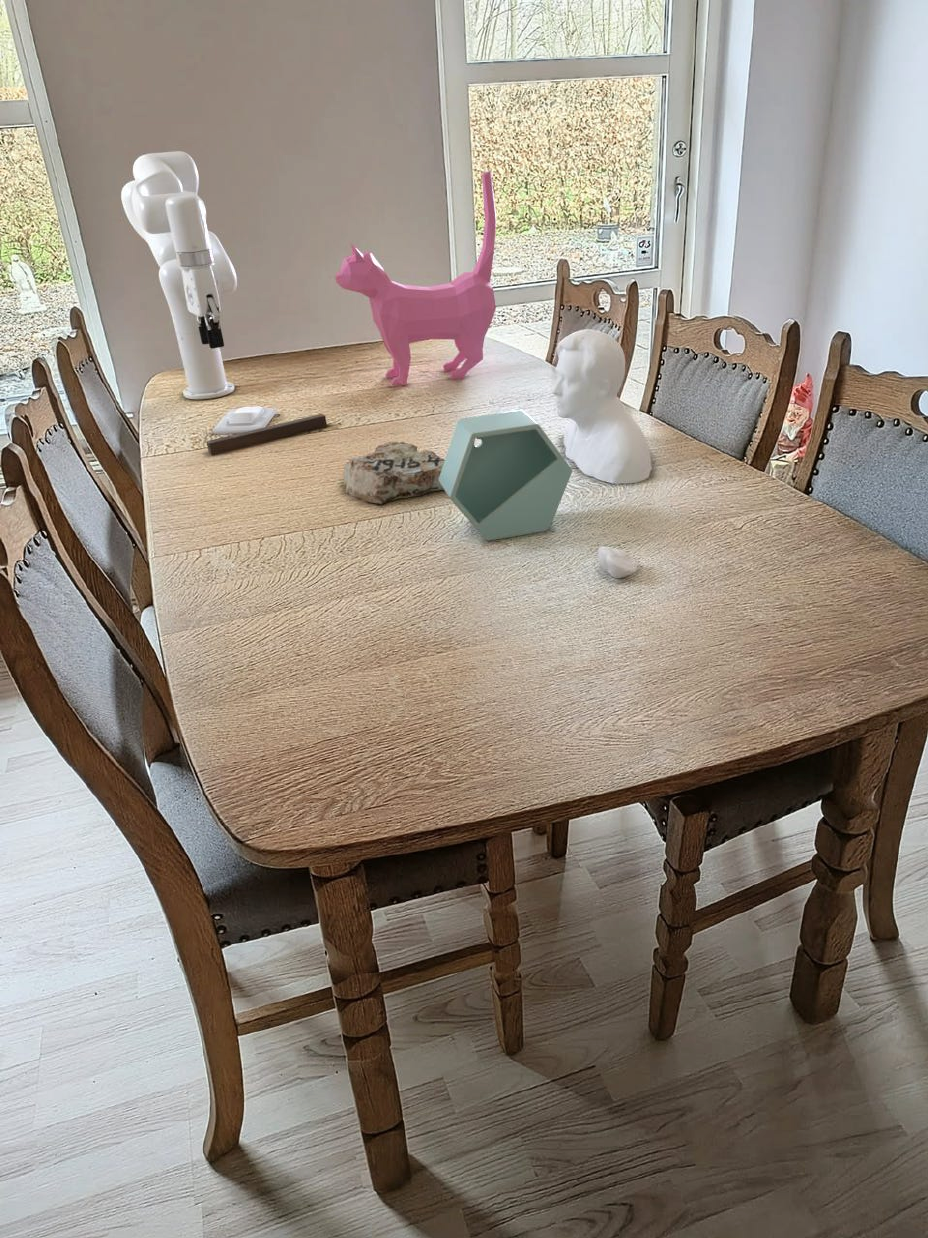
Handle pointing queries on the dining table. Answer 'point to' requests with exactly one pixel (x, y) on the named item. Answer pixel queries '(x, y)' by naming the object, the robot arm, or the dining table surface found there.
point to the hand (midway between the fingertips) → (213, 344)
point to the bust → (598, 410)
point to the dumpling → (616, 562)
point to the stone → (393, 473)
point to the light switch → (244, 420)
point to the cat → (429, 304)
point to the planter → (504, 474)
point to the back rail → (266, 434)
